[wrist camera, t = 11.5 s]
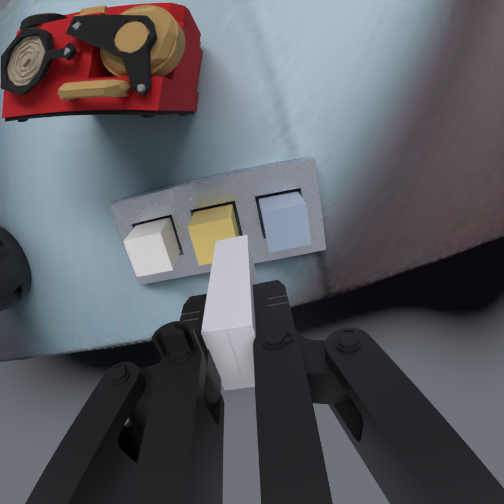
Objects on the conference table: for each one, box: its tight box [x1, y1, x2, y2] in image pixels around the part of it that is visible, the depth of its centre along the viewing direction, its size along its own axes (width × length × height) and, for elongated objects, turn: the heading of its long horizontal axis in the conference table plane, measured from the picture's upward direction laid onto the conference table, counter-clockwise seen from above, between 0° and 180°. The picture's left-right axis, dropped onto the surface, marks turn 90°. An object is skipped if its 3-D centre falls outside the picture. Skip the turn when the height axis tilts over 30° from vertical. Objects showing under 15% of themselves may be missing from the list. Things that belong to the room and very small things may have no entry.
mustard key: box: [188, 204, 240, 266], centre depth 36 cm, size 5×5×5 cm
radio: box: [1, 3, 202, 122], centre depth 22 cm, size 16×10×20 cm, turn 82°
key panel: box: [110, 157, 326, 285], centre depth 39 cm, size 26×12×2 cm, turn 101°
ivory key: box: [123, 218, 180, 277], centre depth 36 cm, size 5×5×5 cm
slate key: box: [259, 192, 311, 252], centre depth 35 cm, size 5×5×5 cm
